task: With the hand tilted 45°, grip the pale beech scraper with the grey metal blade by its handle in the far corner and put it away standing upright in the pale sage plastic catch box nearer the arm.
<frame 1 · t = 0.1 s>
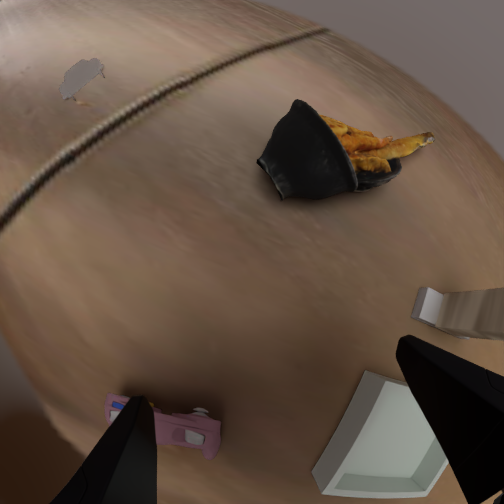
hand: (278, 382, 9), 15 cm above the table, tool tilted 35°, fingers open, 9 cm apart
scraper: (442, 314, 24), on the table
catch box: (392, 435, 22), on the table
car cutout: (63, 108, 27), on the table
fried shrimp in bowl: (346, 166, 26), on the table
video game controller: (168, 417, 22), on the table
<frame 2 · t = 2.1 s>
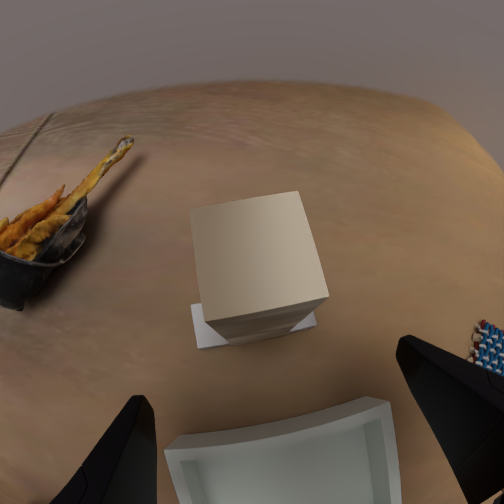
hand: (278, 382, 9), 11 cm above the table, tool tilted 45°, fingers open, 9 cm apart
scraper: (253, 319, 20), on the table
catch box: (289, 487, 15), on the table
woven mat: (489, 384, 18), on the table
fried shrimp in bowl: (71, 237, 23), on the table
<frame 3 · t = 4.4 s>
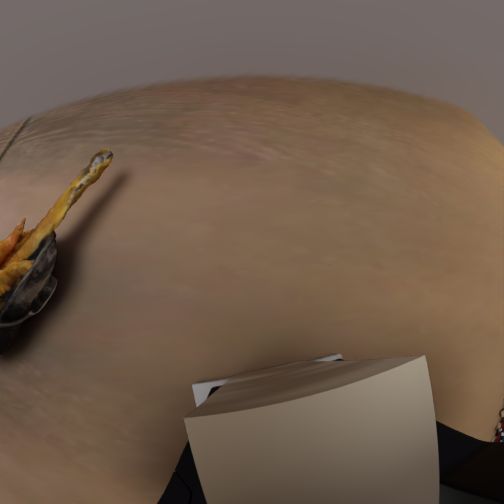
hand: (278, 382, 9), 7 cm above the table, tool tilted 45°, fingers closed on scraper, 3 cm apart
scraper: (271, 395, 15), on the table, touching gripper
fried shrimp in bowl: (43, 277, 17), on the table
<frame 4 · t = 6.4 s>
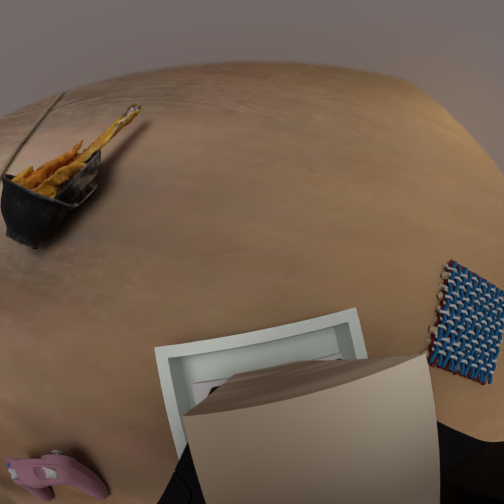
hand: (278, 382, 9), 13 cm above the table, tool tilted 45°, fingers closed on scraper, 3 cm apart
scraper: (271, 395, 15), point 6 cm above the table, touching gripper
catch box: (270, 405, 20), on the table
woven mat: (464, 325, 22), on the table
fried shrimp in bowl: (83, 188, 27), on the table
video game controller: (66, 472, 17), on the table
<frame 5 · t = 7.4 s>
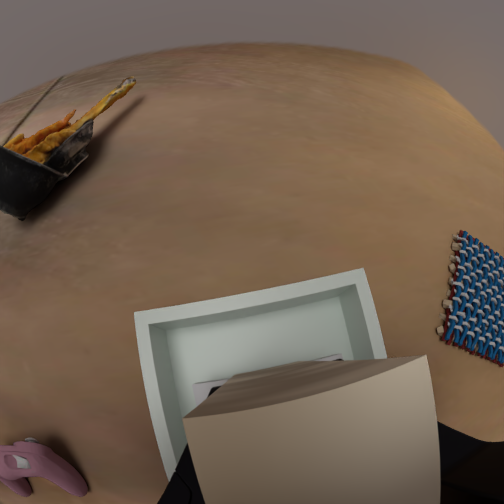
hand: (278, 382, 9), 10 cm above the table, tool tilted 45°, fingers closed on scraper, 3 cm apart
scraper: (272, 395, 15), point 3 cm above the table, touching gripper
catch box: (268, 387, 18), on the table
woven mat: (478, 302, 20), on the table
fried shrimp in bowl: (75, 161, 25), on the table
video game controller: (44, 465, 14), on the table
when the fingers open (9 cm above the table, at t = 8.3 s): scraper drops 1 cm, resting on catch box.
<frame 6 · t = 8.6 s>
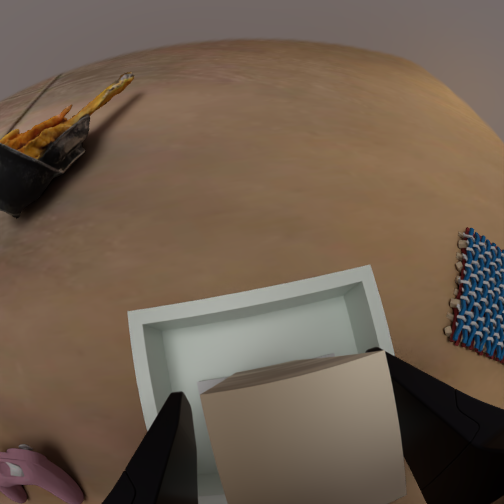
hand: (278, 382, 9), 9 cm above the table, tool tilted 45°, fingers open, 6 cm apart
scraper: (270, 392, 16), point 1 cm above the table, touching catch box
catch box: (269, 391, 17), on the table
woven mat: (485, 301, 19), on the table
fried shrimp in bowl: (71, 157, 24), on the table
video game controller: (39, 472, 13), on the table
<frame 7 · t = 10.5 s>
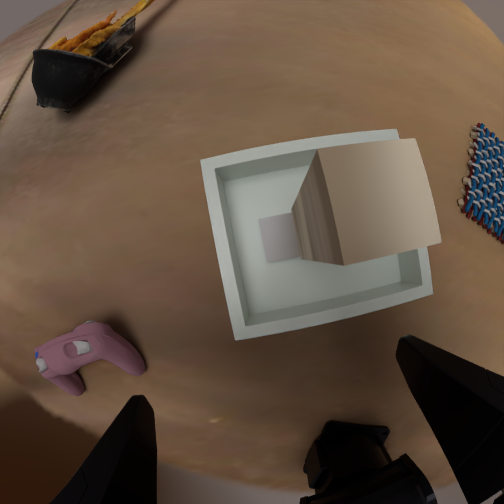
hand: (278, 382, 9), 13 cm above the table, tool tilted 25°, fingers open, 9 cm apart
scraper: (317, 231, 21), point 1 cm above the table, touching catch box
catch box: (315, 232, 21), on the table
woven mat: (494, 189, 21), on the table
fried shrimp in bowl: (116, 55, 23), on the table
video game controller: (99, 353, 23), on the table
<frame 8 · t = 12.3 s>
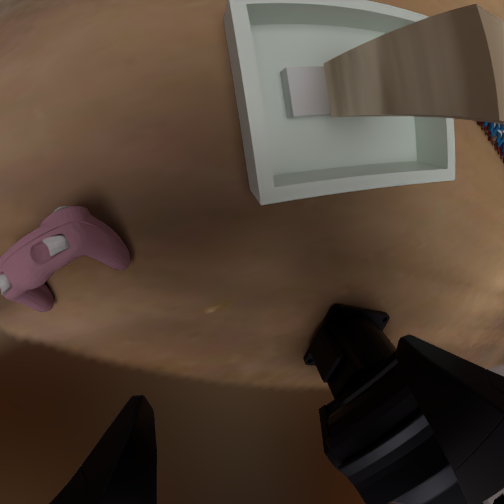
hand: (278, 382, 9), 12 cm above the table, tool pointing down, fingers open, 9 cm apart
scraper: (342, 92, 16), point 1 cm above the table, touching catch box
catch box: (338, 93, 16), on the table
woven mat: (496, 105, 18), on the table
video game controller: (69, 250, 18), on the table
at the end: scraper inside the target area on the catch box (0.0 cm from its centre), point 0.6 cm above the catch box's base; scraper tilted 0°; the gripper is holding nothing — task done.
